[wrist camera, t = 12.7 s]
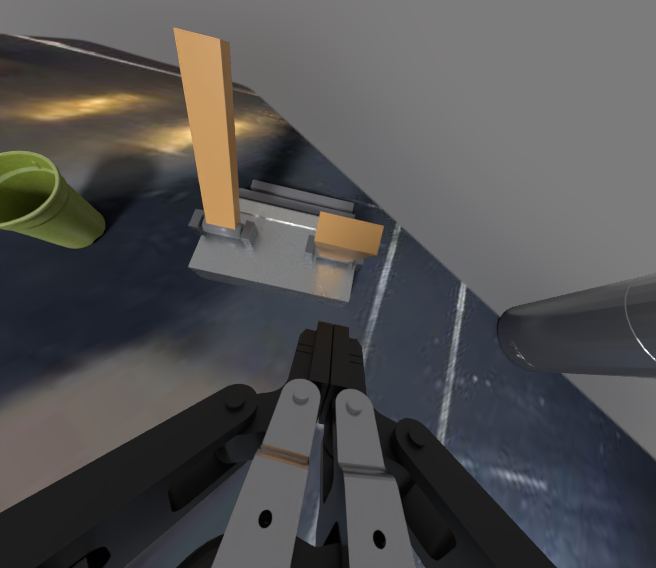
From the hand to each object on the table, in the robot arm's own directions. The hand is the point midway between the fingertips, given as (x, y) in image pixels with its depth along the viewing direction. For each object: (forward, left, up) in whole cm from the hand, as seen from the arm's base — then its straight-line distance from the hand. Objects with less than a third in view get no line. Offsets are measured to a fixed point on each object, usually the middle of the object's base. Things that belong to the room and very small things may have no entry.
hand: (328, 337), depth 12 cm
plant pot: (+18, -31, -20) cm, 41 cm away
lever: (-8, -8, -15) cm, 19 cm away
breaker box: (-3, -13, -20) cm, 24 cm away
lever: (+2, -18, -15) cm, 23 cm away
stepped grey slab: (-10, -20, -20) cm, 30 cm away
